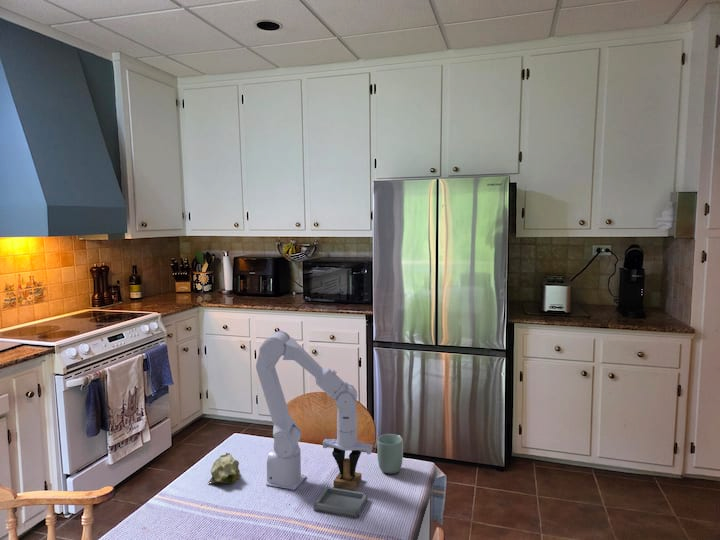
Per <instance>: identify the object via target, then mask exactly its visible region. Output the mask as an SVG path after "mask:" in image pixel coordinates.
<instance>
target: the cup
mask: <svg viewBox="0 0 720 540" xmlns="http://www.w3.org/2000/svg"><path fill="white" fill-rule="evenodd" d="M376 443H377V444H376V445H377V446H376V447H377V449H376V450H377V463H378V467H379V469H380V470H381V472H383V473H384V474H390V475H392V474H397V473H398V472H399V471H400V470H401V468H402V466H403V458H404V440H403V437H402V436H401V435H399V434H394V433H384V434H382V435H379V436H378V437H377V442H376Z"/></svg>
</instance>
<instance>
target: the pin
mask: <svg viewBox="0 0 720 540" xmlns="http://www.w3.org/2000/svg"><path fill="white" fill-rule="evenodd" d="M343 480H348V481H352V476H351V475H350V459H349V457H348V458H347V457H345V459H343Z"/></svg>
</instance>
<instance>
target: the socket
mask: <svg viewBox="0 0 720 540" xmlns="http://www.w3.org/2000/svg"><path fill="white" fill-rule="evenodd" d="M332 481H333V488H337V489H343V490H349V491H356V489H357V488H358V486H359V485H360V483H361V481H362V473H361V472H356V471H355V474H354V476H352V481H348V480H343V475H340V471H339V472H338V473H337V475H336V476H335V478H334V479H333V480H332Z"/></svg>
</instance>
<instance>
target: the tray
mask: <svg viewBox="0 0 720 540" xmlns="http://www.w3.org/2000/svg"><path fill="white" fill-rule="evenodd" d="M367 501H368V493H366V492H362V491H356V490H355V491H353V490H346V489H340V488H334V487H329V486H326V487H325V488H324V490H323V491H322V492H321V494H320V495H319V496H318V498H317V499H316V501H315V502H314V503H313V511H315V512H319V513H325V514H331V515H336V516H342V517H347V518H353V519H358V518H359V516H360V515H361V513H362V511H363V509H364V507H365V505H366V503H367Z"/></svg>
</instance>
